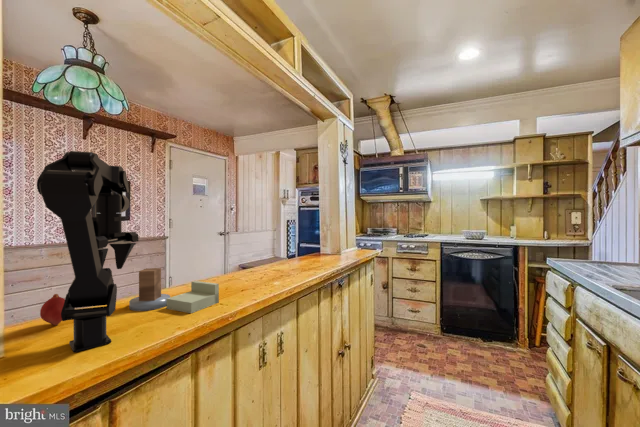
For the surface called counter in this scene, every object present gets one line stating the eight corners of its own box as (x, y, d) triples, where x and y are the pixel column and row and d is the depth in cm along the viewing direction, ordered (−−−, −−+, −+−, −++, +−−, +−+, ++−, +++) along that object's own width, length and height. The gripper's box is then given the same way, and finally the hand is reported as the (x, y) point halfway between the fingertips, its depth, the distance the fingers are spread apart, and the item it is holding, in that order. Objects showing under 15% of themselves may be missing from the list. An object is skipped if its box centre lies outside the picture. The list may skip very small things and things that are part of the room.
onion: (35, 326, 75) (35, 295, 75) (63, 319, 80) (63, 289, 80) (46, 330, 72) (46, 298, 72) (74, 322, 77) (74, 292, 77)
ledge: (191, 313, 85) (191, 292, 85) (166, 308, 89) (166, 288, 89) (218, 302, 95) (218, 283, 95) (195, 298, 99) (195, 280, 99)
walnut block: (154, 300, 90) (154, 271, 90) (139, 301, 90) (138, 271, 90) (161, 296, 95) (161, 268, 95) (146, 296, 94) (146, 268, 94)
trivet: (175, 304, 92) (175, 298, 92) (135, 313, 84) (135, 306, 84) (162, 297, 100) (162, 291, 100) (124, 305, 92) (124, 298, 92)
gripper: (99, 213, 87) (100, 266, 87) (46, 213, 68) (46, 281, 69) (139, 213, 88) (139, 265, 88) (97, 213, 69) (97, 280, 69)
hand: (108, 272), depth 79 cm, fingers open, 9 cm apart
